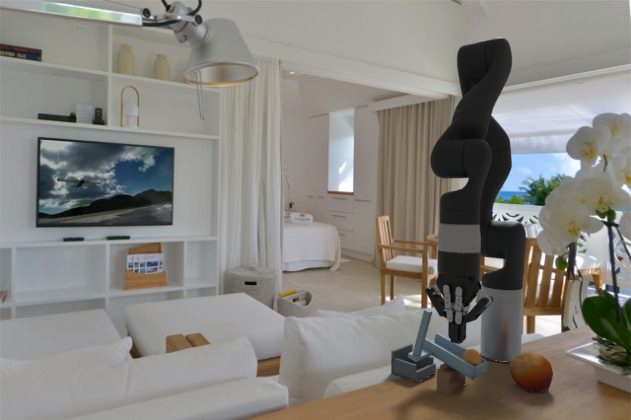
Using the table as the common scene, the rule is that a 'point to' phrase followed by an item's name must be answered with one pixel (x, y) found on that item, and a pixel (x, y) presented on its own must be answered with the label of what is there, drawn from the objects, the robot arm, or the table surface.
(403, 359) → the tray
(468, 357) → the ball
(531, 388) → the fruit
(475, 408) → the table surface
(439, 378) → the fulcrum
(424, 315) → the lever
